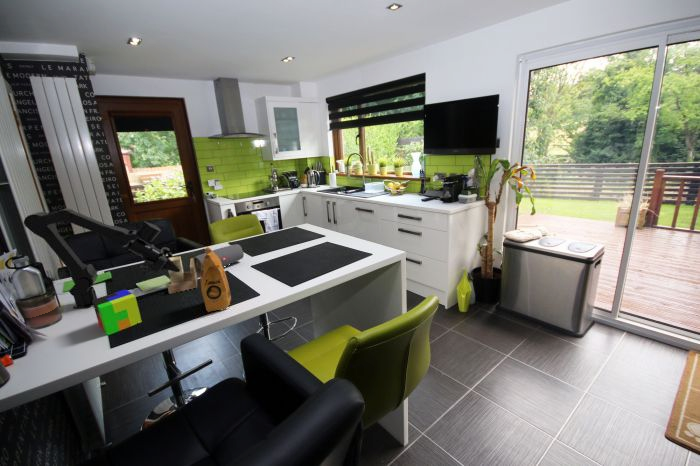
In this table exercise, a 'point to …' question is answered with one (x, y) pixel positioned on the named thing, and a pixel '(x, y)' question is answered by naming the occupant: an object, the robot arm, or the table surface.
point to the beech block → (177, 276)
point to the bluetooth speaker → (222, 256)
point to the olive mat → (153, 283)
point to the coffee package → (214, 283)
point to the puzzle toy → (116, 311)
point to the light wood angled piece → (189, 280)
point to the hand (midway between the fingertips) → (179, 269)
